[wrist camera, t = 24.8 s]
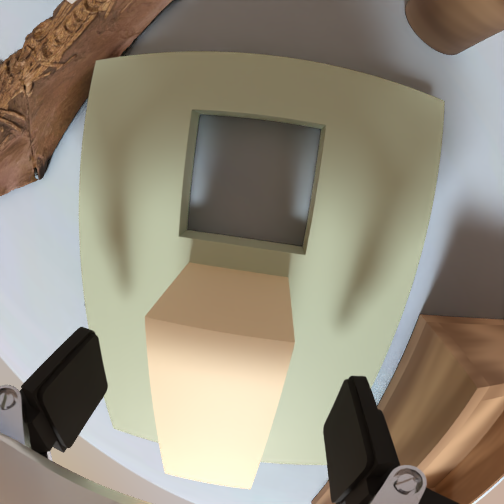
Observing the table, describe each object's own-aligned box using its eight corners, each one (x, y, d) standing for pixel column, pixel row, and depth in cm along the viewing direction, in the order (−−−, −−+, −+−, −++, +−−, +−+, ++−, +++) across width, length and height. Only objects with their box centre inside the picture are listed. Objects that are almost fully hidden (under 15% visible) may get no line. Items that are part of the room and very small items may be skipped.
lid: (431, 105, 10) (513, 83, 4) (325, 452, 16) (331, 517, 11) (108, 66, 10) (30, 33, 5) (119, 417, 17) (89, 473, 11)
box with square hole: (550, 320, 12) (591, 357, 7) (434, 484, 19) (446, 521, 13) (419, 314, 13) (477, 387, 7) (311, 501, 19) (313, 550, 14)
